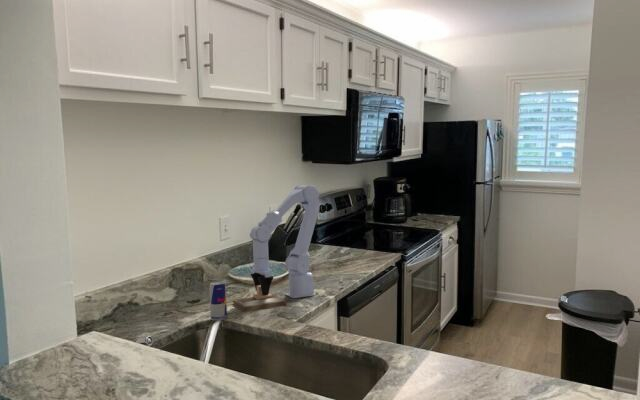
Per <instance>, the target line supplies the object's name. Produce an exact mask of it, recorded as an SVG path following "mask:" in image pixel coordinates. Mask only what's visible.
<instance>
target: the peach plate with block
mask: <svg viewBox="0 0 640 400" xmlns="http://www.w3.org/2000/svg"><path fill="white" fill-rule="evenodd" d="M252 297H254V298H256V299H264V298H271V297H272V295H271V293H269V294H268V295H264V296H263V295H262V290H261V285H258V286H257V291H256V293H255V294H252Z"/></svg>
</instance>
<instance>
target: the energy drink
mask: <svg viewBox="0 0 640 400" xmlns="http://www.w3.org/2000/svg"><path fill="white" fill-rule="evenodd" d="M208 290H209V307H210V308H209V309H210V310H209V311H210V312H209V313H210V320H212V321H213V322H214V321H215V322H216V321H217V320H219V321H224V320H226V319H228V313H227V312H228V308H227V288H226V282H225V281H213V282H210V283H209V289H208Z"/></svg>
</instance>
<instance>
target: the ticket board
mask: <svg viewBox="0 0 640 400" xmlns="http://www.w3.org/2000/svg"><path fill="white" fill-rule="evenodd" d="M270 294H271V293H270ZM271 295H272V297H271V298H264V299H256V298H254V297H253V296H249V297H243V298H234V299H232V304H233V303H234V304H235V305H234V304H233V305H234V306H236V307H237V308H238V309H240V310H241V311H243V312H251V311H258V310H264V309H266V310H267V309H271V308H277V307H285V306H287V301H286V300H285V299H284V298H282V297H280V296H277V295H275V294H271Z"/></svg>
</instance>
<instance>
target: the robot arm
mask: <svg viewBox="0 0 640 400" xmlns="http://www.w3.org/2000/svg"><path fill="white" fill-rule="evenodd" d="M319 197H320V191H319V190H318V188H317V186H315V185H313V184H307V185H305V184H304V185H302V184H299V185H296V186H295V187H294V188H293V189H292V190H291V191H290V192H289V194H288V196H286V198H285V199H284V200H283V201H282V202H281V203H280V205H279V207H277V209H276V210H272V211H270V212H269V211H267V213H265V215H266V216H265V217H264V218H263V219H262V220H261V221H259V222H258V223H257V225H256V226H253V227H252V228H251V231H250V233H249V237H250V238H251V240H252V254H253V256H252V257H253V266H252V269H251V270H250V277H251V279H252V281H253V284H254V288H255V292H257V286H258V285H261V290H262V295H263V296H264V295H268V294H270V289H271V284H272V282H273V279H274V276H272V275H271V271H270V261H269V258H270V257H269V240H270V239H271V234H272V233H273V232H274V231H275V230H276V228H277V227H278V226H279V225H280V224H281V223H282V221H283V217H284V216H285V215H286V214H287V212H289V210H291V208H293V207H294V206H295V205H296V204H298V203H300V205H302V207H303V209H304V213H303V217H302V220H301V224H300V228H299V231H298V235H297V238H296V241H295V245H294V248H292V249H291V250H290V252H289V255H288V257H286V259H285V263H284V265H285V268H286V269H287V271H288V272H287V273H288V291H289V292H288V293H287V292H286V293H285V295H286V296H287V297H289V298H292V299H297V298H305V297H312V296H316V294H315V284H314V282H315V279H314V276H313V273H312V272H309V269H310V266H311V265H310V259H311V255H310V252H309V248H310V245H311V241H312V237H313V234H314V230H315V226H316V223H317V220H318V216H319V212H320V201H319Z"/></svg>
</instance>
